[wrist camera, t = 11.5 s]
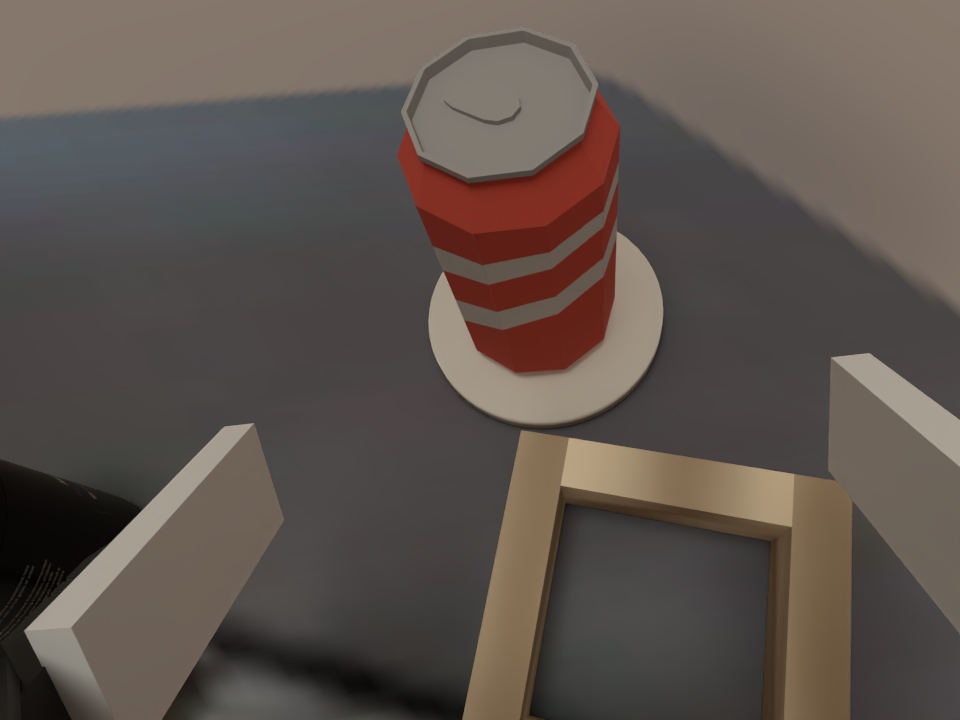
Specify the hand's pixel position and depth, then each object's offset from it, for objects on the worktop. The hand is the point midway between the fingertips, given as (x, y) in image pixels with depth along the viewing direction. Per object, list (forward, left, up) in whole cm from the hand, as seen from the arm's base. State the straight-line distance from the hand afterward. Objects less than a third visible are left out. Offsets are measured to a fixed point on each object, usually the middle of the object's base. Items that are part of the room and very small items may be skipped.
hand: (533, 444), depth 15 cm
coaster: (-2, +9, -11) cm, 14 cm away
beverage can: (-2, +9, -10) cm, 14 cm away
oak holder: (+4, -3, -11) cm, 12 cm away
